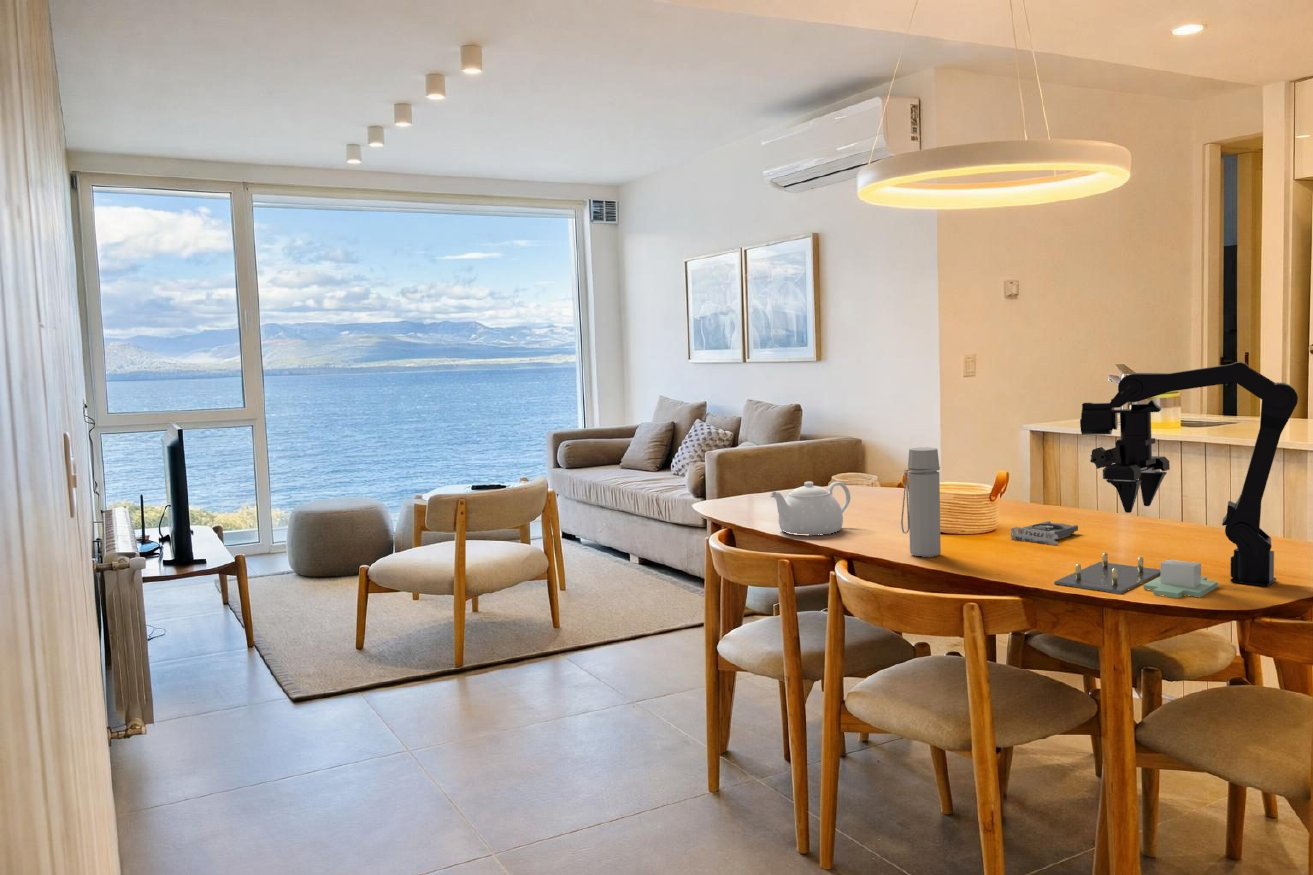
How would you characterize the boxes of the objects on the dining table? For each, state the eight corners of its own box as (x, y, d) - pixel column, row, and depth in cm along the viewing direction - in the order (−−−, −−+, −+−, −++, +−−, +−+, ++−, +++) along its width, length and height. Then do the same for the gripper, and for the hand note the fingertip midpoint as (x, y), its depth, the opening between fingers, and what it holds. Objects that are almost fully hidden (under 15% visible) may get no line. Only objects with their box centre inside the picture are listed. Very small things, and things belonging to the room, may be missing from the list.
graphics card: (1055, 533, 233) (1009, 526, 242) (1055, 549, 233) (1009, 541, 243) (1090, 524, 243) (1045, 517, 253) (1090, 539, 244) (1045, 532, 253)
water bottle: (945, 552, 231) (944, 447, 229) (936, 559, 224) (934, 451, 222) (907, 549, 236) (905, 446, 233) (896, 556, 229) (894, 450, 227)
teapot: (840, 538, 253) (839, 486, 252) (770, 536, 259) (769, 486, 258) (851, 525, 271) (850, 476, 269) (786, 524, 277) (784, 476, 276)
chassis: (1163, 572, 203) (1163, 555, 203) (1120, 593, 188) (1120, 575, 188) (1099, 564, 213) (1099, 548, 212) (1054, 584, 198) (1054, 566, 197)
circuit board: (1222, 584, 192) (1222, 559, 192) (1194, 600, 182) (1194, 574, 181) (1168, 576, 200) (1168, 552, 199) (1137, 592, 189) (1137, 567, 188)
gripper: (1115, 429, 213) (1117, 500, 215) (1076, 438, 201) (1078, 513, 202) (1169, 430, 205) (1171, 503, 206) (1131, 439, 193) (1133, 517, 194)
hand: (1137, 509), depth 203 cm, fingers open, 9 cm apart
